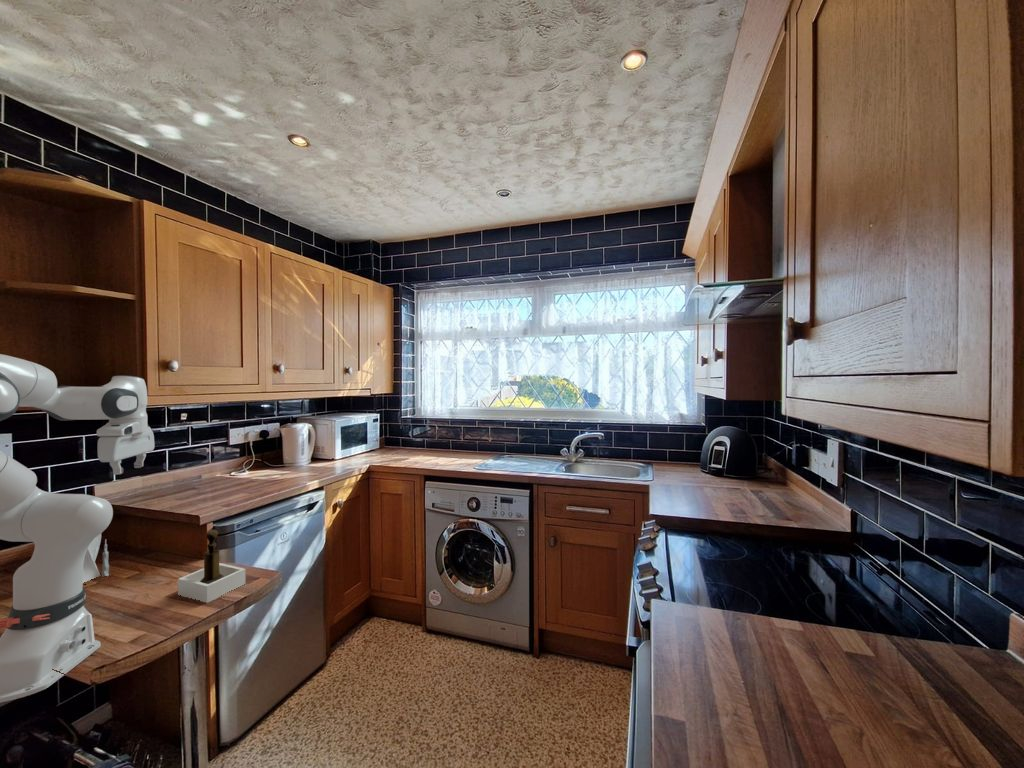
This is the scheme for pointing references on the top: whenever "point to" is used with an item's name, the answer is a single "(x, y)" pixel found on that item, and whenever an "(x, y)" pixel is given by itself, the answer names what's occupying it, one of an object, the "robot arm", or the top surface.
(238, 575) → the open rectangular tray
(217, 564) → the dark brown tall piece
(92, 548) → the skyscraper
